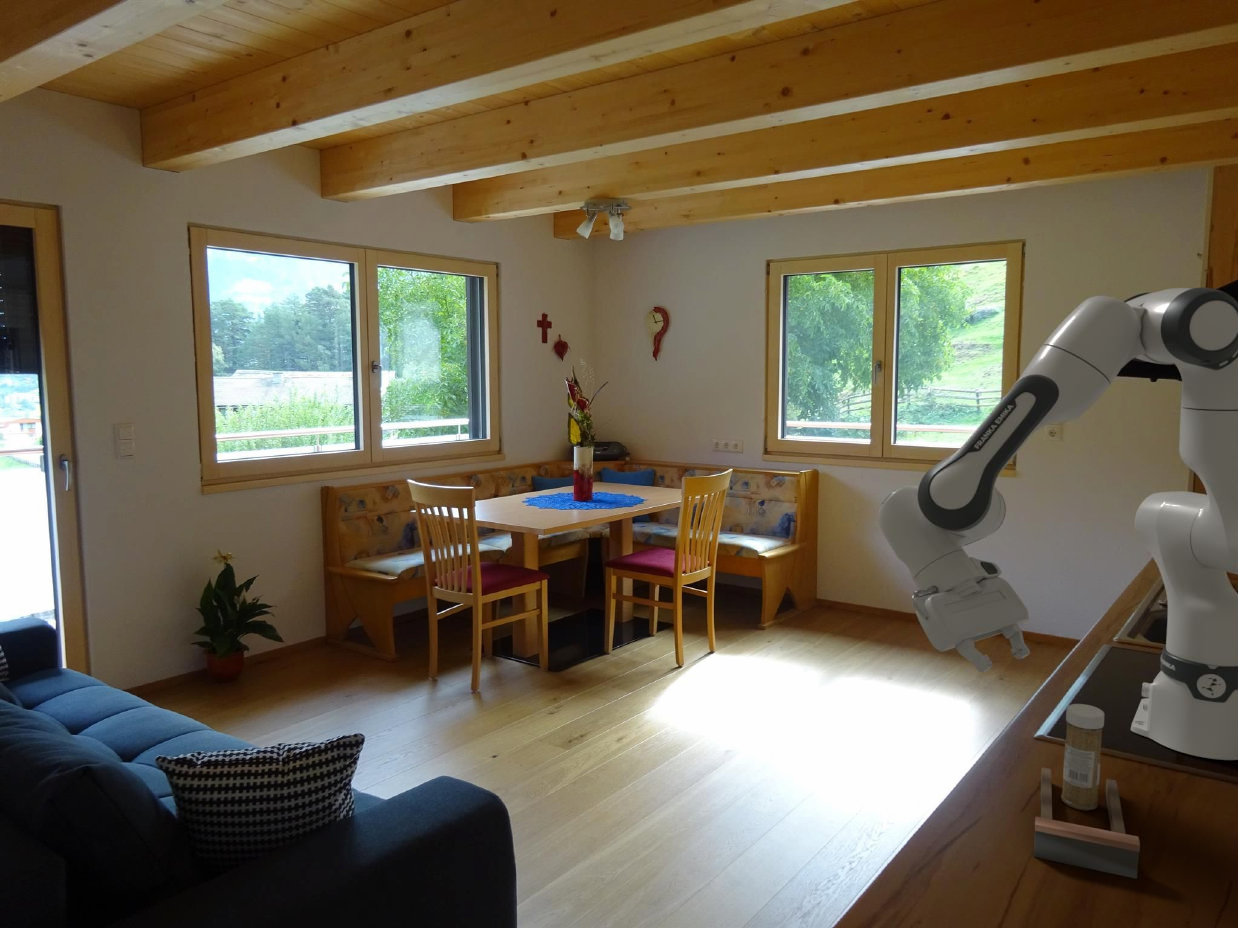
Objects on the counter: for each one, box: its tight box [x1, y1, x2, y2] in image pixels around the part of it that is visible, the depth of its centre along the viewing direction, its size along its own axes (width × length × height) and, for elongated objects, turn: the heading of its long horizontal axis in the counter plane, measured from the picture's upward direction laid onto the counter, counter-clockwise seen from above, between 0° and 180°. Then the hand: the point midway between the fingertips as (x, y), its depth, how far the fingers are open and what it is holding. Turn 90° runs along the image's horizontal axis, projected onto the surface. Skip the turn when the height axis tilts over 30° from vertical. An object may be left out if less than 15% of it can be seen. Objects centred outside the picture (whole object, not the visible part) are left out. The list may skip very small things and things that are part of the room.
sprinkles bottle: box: [1060, 703, 1105, 811], centre depth 124 cm, size 5×5×14 cm
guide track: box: [1033, 767, 1141, 880], centre depth 119 cm, size 22×11×4 cm, turn 155°
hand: (1006, 662), depth 132 cm, fingers open, 8 cm apart
